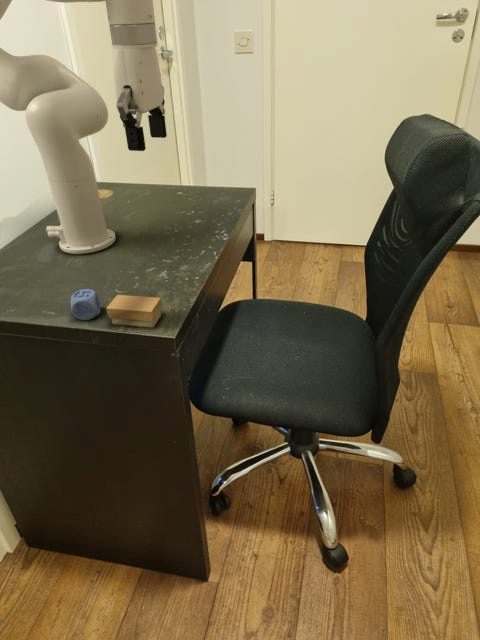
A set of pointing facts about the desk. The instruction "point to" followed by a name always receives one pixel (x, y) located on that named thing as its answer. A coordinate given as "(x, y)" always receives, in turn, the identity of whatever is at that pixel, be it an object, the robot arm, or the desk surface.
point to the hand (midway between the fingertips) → (148, 143)
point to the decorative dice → (85, 304)
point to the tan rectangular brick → (135, 310)
